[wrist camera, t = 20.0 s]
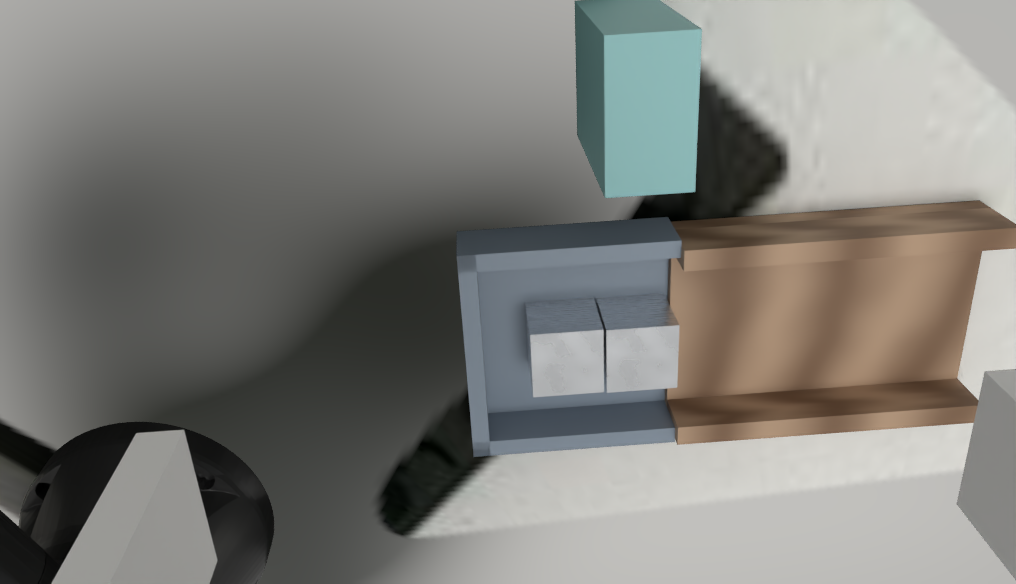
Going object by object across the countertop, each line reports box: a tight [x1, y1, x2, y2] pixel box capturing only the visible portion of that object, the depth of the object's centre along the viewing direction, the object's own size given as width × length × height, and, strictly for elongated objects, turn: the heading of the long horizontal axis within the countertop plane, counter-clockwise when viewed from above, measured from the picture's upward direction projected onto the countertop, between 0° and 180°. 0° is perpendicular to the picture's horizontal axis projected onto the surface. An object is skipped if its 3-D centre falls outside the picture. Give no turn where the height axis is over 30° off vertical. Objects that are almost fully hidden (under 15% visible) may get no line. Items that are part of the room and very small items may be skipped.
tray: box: [457, 217, 682, 457], centre depth 51 cm, size 12×13×4 cm
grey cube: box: [525, 297, 604, 397], centre depth 51 cm, size 4×4×4 cm
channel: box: [665, 201, 1016, 445], centre depth 52 cm, size 18×12×4 cm
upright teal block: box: [575, 0, 702, 198], centre depth 42 cm, size 4×7×10 cm, turn 3°
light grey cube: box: [596, 293, 679, 393], centre depth 51 cm, size 4×4×4 cm
